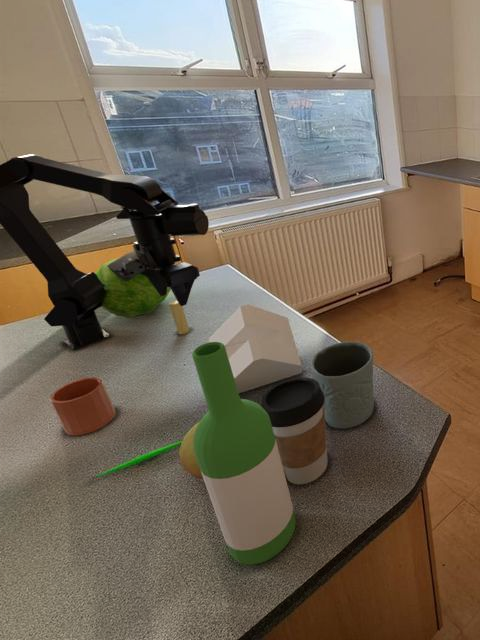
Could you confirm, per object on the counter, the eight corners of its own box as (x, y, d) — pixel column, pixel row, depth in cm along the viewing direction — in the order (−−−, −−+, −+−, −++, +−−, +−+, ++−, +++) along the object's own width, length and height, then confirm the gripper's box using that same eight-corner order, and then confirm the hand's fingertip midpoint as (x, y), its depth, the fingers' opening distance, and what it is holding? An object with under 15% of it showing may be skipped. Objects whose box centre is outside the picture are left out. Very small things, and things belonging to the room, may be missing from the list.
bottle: (217, 569, 53) (142, 371, 42) (252, 511, 60) (196, 328, 49) (280, 569, 53) (222, 372, 42) (307, 511, 61) (264, 329, 49)
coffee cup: (315, 497, 63) (297, 416, 57) (264, 486, 64) (242, 406, 58) (346, 452, 70) (333, 377, 65) (300, 443, 72) (284, 369, 66)
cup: (59, 426, 74) (43, 393, 72) (106, 403, 80) (93, 372, 77) (74, 441, 71) (58, 408, 69) (122, 416, 77) (109, 385, 74)
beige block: (226, 404, 85) (210, 373, 71) (215, 354, 89) (198, 315, 75) (302, 379, 92) (301, 346, 78) (289, 334, 96) (285, 295, 83)
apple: (274, 448, 71) (264, 410, 68) (219, 498, 62) (205, 457, 59) (229, 433, 74) (218, 395, 71) (171, 478, 65) (155, 438, 62)
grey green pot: (341, 389, 84) (333, 337, 80) (389, 397, 82) (383, 345, 78) (309, 427, 75) (297, 371, 70) (361, 437, 73) (353, 380, 69)
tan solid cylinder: (176, 332, 102) (166, 303, 99) (186, 328, 104) (177, 299, 101) (181, 335, 101) (171, 305, 98) (191, 331, 103) (182, 301, 100)
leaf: (90, 479, 65) (88, 475, 64) (201, 434, 73) (200, 431, 73) (90, 483, 64) (88, 479, 64) (202, 437, 72) (201, 434, 72)
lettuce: (106, 295, 116) (179, 289, 125) (85, 334, 98) (172, 324, 107) (97, 244, 112) (173, 241, 120) (73, 276, 94) (165, 270, 102)
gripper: (87, 239, 91) (111, 304, 97) (127, 257, 82) (151, 327, 88) (149, 225, 100) (168, 285, 106) (191, 240, 91) (209, 305, 97)
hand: (173, 300), depth 99 cm, fingers open, 9 cm apart
